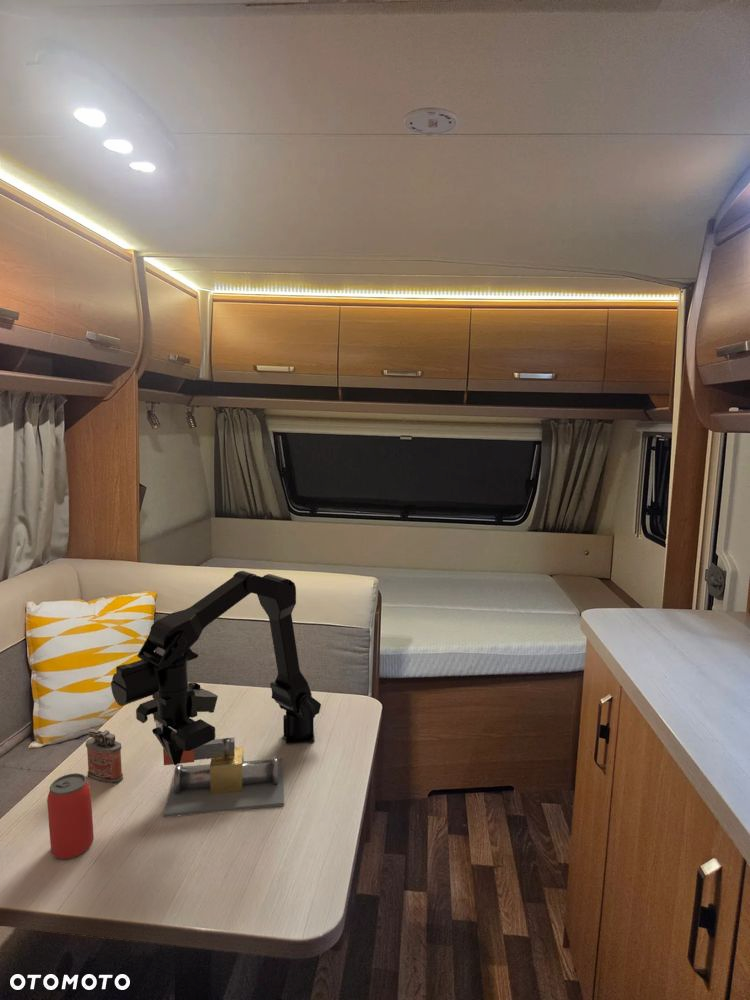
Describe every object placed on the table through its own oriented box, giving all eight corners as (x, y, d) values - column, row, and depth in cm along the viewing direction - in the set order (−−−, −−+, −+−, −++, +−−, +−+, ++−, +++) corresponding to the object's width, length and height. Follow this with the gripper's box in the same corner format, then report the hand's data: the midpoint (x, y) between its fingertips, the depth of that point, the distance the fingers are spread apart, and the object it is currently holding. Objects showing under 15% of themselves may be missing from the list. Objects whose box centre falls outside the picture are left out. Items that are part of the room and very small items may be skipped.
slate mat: (282, 760, 128) (282, 758, 127) (283, 805, 113) (283, 802, 113) (176, 769, 124) (176, 767, 124) (163, 817, 109) (163, 814, 109)
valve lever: (234, 751, 119) (234, 735, 118) (234, 757, 117) (234, 741, 116) (165, 758, 116) (164, 742, 116) (163, 765, 114) (163, 749, 113)
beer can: (61, 834, 105) (56, 772, 103) (99, 832, 105) (95, 770, 103) (43, 862, 98) (38, 796, 96) (84, 860, 99) (80, 794, 97)
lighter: (127, 776, 121) (124, 731, 120) (115, 786, 118) (112, 739, 117) (96, 768, 124) (93, 724, 123) (83, 777, 121) (80, 732, 119)
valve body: (278, 773, 123) (277, 743, 122) (278, 791, 117) (278, 760, 116) (178, 782, 120) (177, 752, 119) (173, 801, 114) (172, 769, 113)
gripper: (238, 686, 111) (241, 764, 113) (184, 660, 123) (187, 731, 125) (184, 707, 102) (188, 791, 104) (132, 677, 114) (137, 753, 116)
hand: (176, 764), depth 113 cm, fingers closed
